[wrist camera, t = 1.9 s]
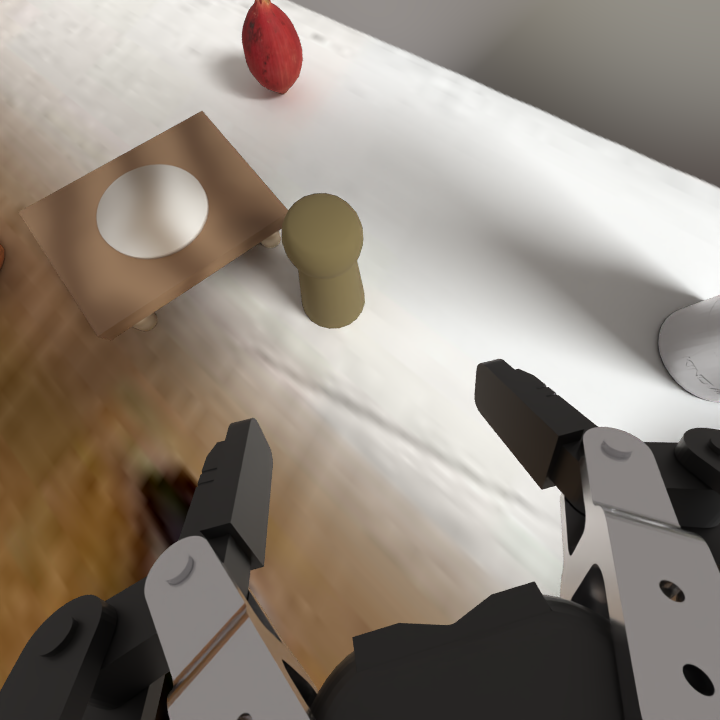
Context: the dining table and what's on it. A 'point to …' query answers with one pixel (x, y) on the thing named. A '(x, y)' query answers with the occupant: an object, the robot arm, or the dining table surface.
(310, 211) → the olive pepper mill
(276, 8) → the onion
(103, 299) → the wooden stand
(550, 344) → the dining table surface
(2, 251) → the potato
